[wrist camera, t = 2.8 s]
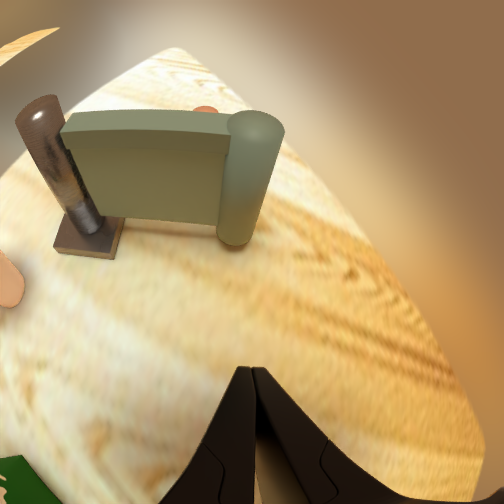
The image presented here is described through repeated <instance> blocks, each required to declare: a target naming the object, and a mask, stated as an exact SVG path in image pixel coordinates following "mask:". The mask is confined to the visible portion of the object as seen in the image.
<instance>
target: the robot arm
mask: <svg viewBox="0 0 504 504" xmlns="http://www.w3.org/2000/svg"><path fill="white" fill-rule="evenodd" d="M255 469H256V474H257V479H258V484H259V489H260V494H261V499H262V504H504V487H501V488H499V489H498V490H496V491H495V492H494V493H493V494H491V495H490V496H489V497H487V498H486V499H484V500H480V501H475V502H447V501H432V500H422V499H414V498H409V497H405V496H403V495H400V494H398V493H396V492H394V491H393V490H391V489H390V488H388V487H387V486H385V485H384V484H382V483H381V482H380V481H378V480H377V479H375V478H374V477H373V476H371V475H370V474H368V473H367V472H366V471H364V470H363V469H362V468H361V467H359V466H358V465H357V464H356V463H354V462H353V461H352V460H351V459H349V458H348V457H347V456H346V455H345V454H344V453H343V452H342V451H341V450H340V449H339V448H338V447H337V446H336V445H335V444H334V443H333V442H332V441H331V440H328V437H327V436H326V435H325V434H324V433H323V432H322V431H321V430H320V429H319V428H318V427H317V426H316V424H315V423H314V422H313V421H312V420H311V419H310V418H309V417H308V416H307V415H306V414H305V413H304V411H303V410H302V409H301V408H300V407H299V406H298V405H297V404H296V403H295V401H294V400H293V399H292V398H291V397H290V396H289V395H288V394H287V392H286V391H285V390H284V389H283V388H282V387H281V386H280V384H279V383H278V382H277V381H276V380H275V379H274V378H273V376H272V375H271V374H270V373H269V372H268V370H267V369H266V368H264V367H252V368H250V367H249V366H238V367H237V368H236V370H235V372H234V374H233V376H232V378H231V381H230V383H229V385H228V387H227V389H226V391H225V393H224V395H223V397H222V399H221V401H220V404H219V406H218V408H217V410H216V412H215V414H214V416H213V418H212V420H211V422H210V424H209V426H208V428H207V430H206V432H205V434H204V436H203V438H202V440H201V443H199V445H198V447H197V449H196V451H195V453H194V455H193V457H192V458H191V460H190V462H189V464H188V465H187V467H186V468H185V470H184V471H183V473H182V474H181V475H180V477H179V478H178V480H177V481H176V482H175V483H174V485H173V486H172V487H171V488H170V490H169V491H168V492H167V493H166V495H165V496H164V497H163V498H162V499H161V501H160V502H159V503H158V504H254V484H255Z"/></svg>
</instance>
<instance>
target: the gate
mask: <svg viewBox="0 0 504 504" xmlns="http://www.w3.org/2000/svg"><path fill="white" fill-rule="evenodd" d="M59 133H60V135H61V138H62V140H63V143H64V145H65V147H66V149H70V151H71V153H72V156H73V158H74V161H75V163H76V165H77V167H78V170H79V172H80V174H81V176H82V179H83V181H84V183H85V185H86V187H87V189H88V191H89V193H90V195H91V198H92V200H93V202H94V204H95V206H96V208H97V210H98V212H99V213H100V215H101V216H112V217H125V218H138V219H150V220H161V221H172V222H183V223H194V224H204V225H215V226H216V232H217V235H218V237H219V238H220V240H222V241H223V242H224V243H226V244H228V245H232V246H239V245H243V244H245V243H247V242H248V241H249V240H250V239H251V237H252V235H253V231H254V228H255V225H256V222H257V219H258V216H259V212H260V209H261V206H262V203H263V200H264V197H265V194H266V190H267V187H268V184H269V181H270V178H271V175H272V171H273V168H274V165H275V162H276V159H277V156H278V153H279V150H280V146H281V143H282V140H283V137H284V133H285V131H284V127H283V125H282V124H281V122H280V121H279V120H278V119H276V118H275V117H273V116H271V115H269V114H267V113H264V112H261V111H254V110H246V111H240V112H237V113H235V114H223V113H212V112H200V111H183V110H106V111H90V112H79V113H73V114H72V115H71V116H70V118H69V119H68V121H67V122H66V123H65V125H64V126H63V128H62V129H61V131H60V132H59Z"/></svg>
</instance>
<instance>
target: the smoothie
mask: <svg viewBox="0 0 504 504" xmlns="http://www.w3.org/2000/svg"><path fill="white" fill-rule="evenodd" d="M24 289H25V282H24V278H23V276H22V274H21V273H20V272H19V271H18V270H17V269H16V268H15V267H14V265H13V264H12V263H11V262H10V261H9V260H8V258H7V257H6V256H5V255H4V254H3V252H2V251H1V250H0V305H1V306H4V307H7V308H12V307H14V306H16V305H17V304H18V303H19V302H20V300H21V299H22V296H23V294H24Z"/></svg>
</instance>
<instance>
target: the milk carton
mask: <svg viewBox="0 0 504 504" xmlns="http://www.w3.org/2000/svg"><path fill="white" fill-rule="evenodd" d="M0 504H62V503H61V502H60V501H59V500H58V499H57V498H56V497H55V495H54V494H53V493H52V492H51V491H50V490H49V489H48V488H47V486H46V485H45V484H44V483H43V482H42V481H41V479H40V478H39V477H38V476H37V474H36V473H35V472H34V471H33V469H32V468H31V467H30V466H29V464H28V463H27V462H26V460H25V459H24V457H23V456H22V455H18V456H12V457H6V458H0Z"/></svg>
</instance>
